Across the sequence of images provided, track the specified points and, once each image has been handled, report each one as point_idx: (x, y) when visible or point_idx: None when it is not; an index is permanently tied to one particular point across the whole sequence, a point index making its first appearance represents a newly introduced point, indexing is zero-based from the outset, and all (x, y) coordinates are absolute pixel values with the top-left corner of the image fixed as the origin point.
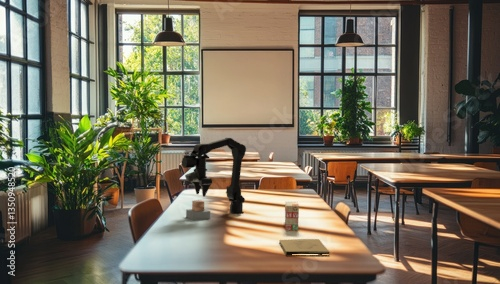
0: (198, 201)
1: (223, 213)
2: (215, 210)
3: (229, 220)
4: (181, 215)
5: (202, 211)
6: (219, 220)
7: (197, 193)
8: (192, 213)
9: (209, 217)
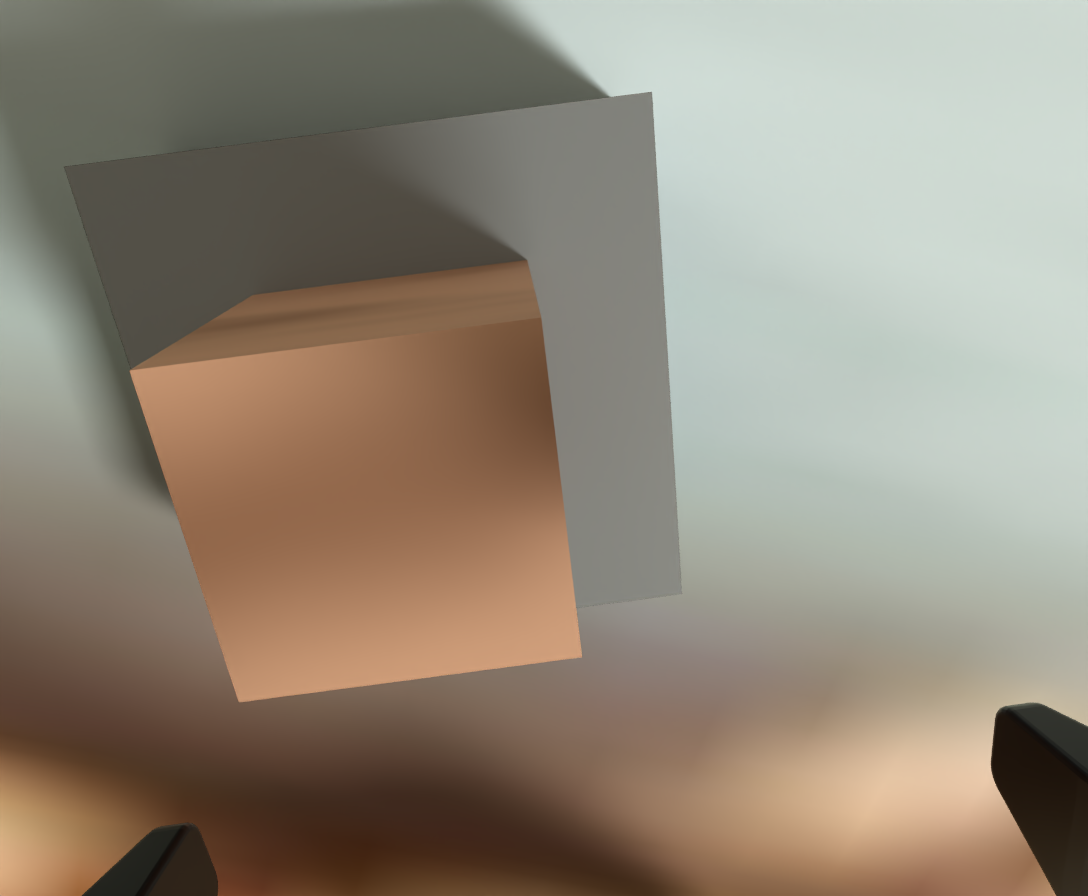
0: (292, 517)
1: (721, 857)
2: None
3: (58, 812)
4: (840, 25)
5: None
6: (70, 671)
7: (1016, 764)
8: (108, 161)
9: None
